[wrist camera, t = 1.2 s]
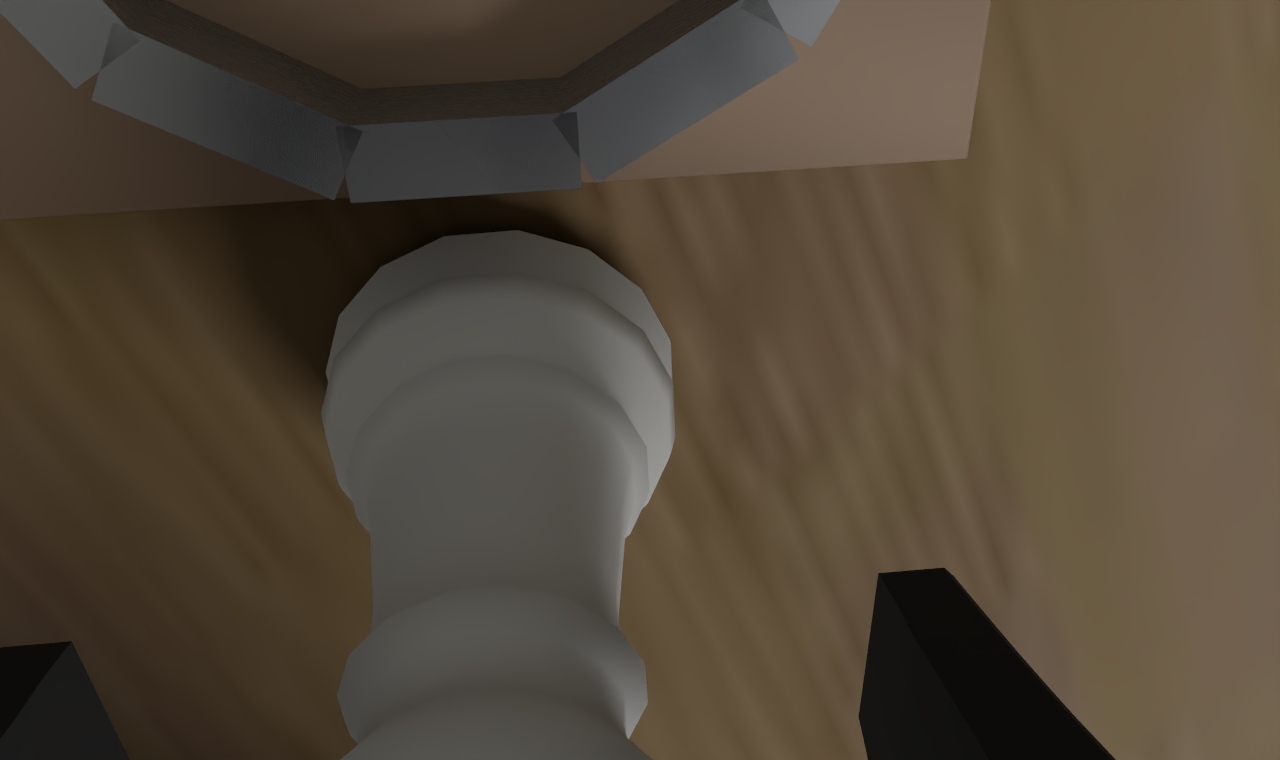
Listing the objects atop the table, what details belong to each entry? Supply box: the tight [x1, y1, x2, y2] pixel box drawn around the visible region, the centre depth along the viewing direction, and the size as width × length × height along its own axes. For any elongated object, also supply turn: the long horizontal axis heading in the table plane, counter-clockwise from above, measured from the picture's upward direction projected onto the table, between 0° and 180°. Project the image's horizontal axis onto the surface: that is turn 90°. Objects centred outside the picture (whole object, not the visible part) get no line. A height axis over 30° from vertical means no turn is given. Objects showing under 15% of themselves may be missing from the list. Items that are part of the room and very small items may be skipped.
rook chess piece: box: [321, 230, 675, 760], centre depth 11 cm, size 4×4×8 cm
